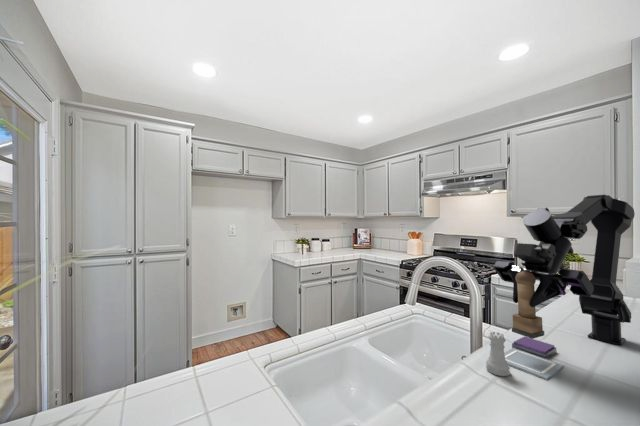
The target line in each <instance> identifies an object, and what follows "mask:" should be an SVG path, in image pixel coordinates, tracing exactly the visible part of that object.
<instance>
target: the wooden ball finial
mask: <svg viewBox="0 0 640 426" xmlns="http://www.w3.org/2000/svg"><path fill="white" fill-rule="evenodd" d="M515 279H516V282H517V291H518V302H517V308H518V313H515V314H512V327H511V332H512V333H515V334H518V335H521V336H522V337H524V336H525V337H528V338H531V339H537V338H540V337H543V336H545V330H544V329H543V317H541V316H538V315H536V312H537V310H536V306H535V307H531V306H530V305H529V303H530V301H531V298H532V296H533V295H534V293H535V291H536V289H535V284H536V282H537V280H536V279H535V276H534V275H533V274H532V273H530V272H528V271H520V272H518V273H517V274H516V277H515Z"/></svg>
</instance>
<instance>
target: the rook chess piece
mask: <svg viewBox="0 0 640 426" xmlns="http://www.w3.org/2000/svg"><path fill="white" fill-rule="evenodd" d="M504 336H505V335H504V334H503V333H500V332H495V331H492V332H489V335H488V337H487V338H488V339H489V340H490V342H489V346H490V351H489V356H488V357H487V358H488V359H486V360H485V363H486V365H485V368H486V370H487V371H488V372H489V373H490V374H492V375H495V376H497V377H507V376H509V375H510V374H511V371H510V368H511V366H509V365H508V364H507V361H506V360H505V355H504V353H505V348H506V346H505V345H504V344H505V342H506V341H507V340H506V338H505V337H504Z"/></svg>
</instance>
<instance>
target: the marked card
mask: <svg viewBox="0 0 640 426" xmlns="http://www.w3.org/2000/svg"><path fill="white" fill-rule="evenodd" d="M504 355H505V360H506V361H507V364H508V365H509V367H512V368H514V369H517V370H520V371H523V372H525V373H527V374H530V375H533V376H535V377H538V378H540V379H542V380H546V381H548V380H549V379H550V378H552V377H553V376H555V375H556V374H557V373H558V372H559V371H561V370H562V369H564V368H565V365H564V364H563V363H562V364H561V363H559V362H556V361H553V360H551V359H549V358H548V359H545V358H542V357H539V356H536V355H533V354H530V353H527V352H524V351H521V350H518V349H515V348H512V347H511V348H510V349H509V350H507V351H504Z"/></svg>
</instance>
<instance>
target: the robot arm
mask: <svg viewBox="0 0 640 426" xmlns="http://www.w3.org/2000/svg"><path fill="white" fill-rule="evenodd" d="M635 215H636V214H635V210H634V207H632V205H630V204H629V203H628V202H627V201H624V200H620V199H618V198H613V197H612V196H611V195H609V194H596V195H595V194H594V195H587V196H584V197H583V199H582V200H581V201H580V202H579V203H578V204H576V205H575V206H573V207H572V208H571V209H569V210H568V211H566V212H563V213H559V214H554V215H552V214H551V212H550V210H549V208H548V207H538V208H537V209H536V210H534V211H531V212H529V213H527V214H526V215H524V216H523V218H522V223H523V225H524V226H525V228H526V229H527V231H528V232H529V234H530V236H531V238H532V239H533V240H535V241H537V242H539V243H538V244H534V243H521V242H520V243H517V244H516V247H515V250H514V254H513V256H514V257H515V258H518V259H519V260H521V261H520V264H521V266H520V265H519V266H518V265H517V266H516V265H515V264H514V262H512V261H503V260H496V261H495V263H494V264H493V266H492V268H493V269H494V270H495V272H496V273H497V275H498V276H499V277H500V279H501V280H502V281H504V282H507V283H512V284H513V290H512V291H513V293H512V301H513V303H514V304H518V291H517V282H516V279H515V277H516V274H517V273H518V272H520V271H528V272H530V273H532V274H533V275H534V276H535V279H536V281H539V284H538V285H537V288H536V289H535V293H534V295H533V296H532V298H531V301H530V303H529V305H530V306H531V307H535V308H536V307H537V306H540V305H541V304H543V303H544V302H547V301H549V300H551V299H554V298H556V297H558V296H565V295H567V292H566V289H567V288H568V287H569V286H570V287H569V291H570V292H571V293H572V294H573V295H574V296H575V295H576V296H579V297H578V301H579V306H580V310H581V313H582V314H584V315H590V317H591V319H590V320H591V332H590V333H589V334H587V338H590V339H594V340H597V341H602V342H605V343H609V344H613V345H617V346H622V345H623V344H624V343H626V341H627V338H625V337H622V323H629V324H630V323H631V322H632V312H631V310H630V308H629V307H628V305H627V303H626V301H625V300H624V294H623V292H622V291H621V289H620V287H618V285H617V277H618V276H617V275H618V266H619V259H620V257H619V255H620V249H621V238H622V234H624V233H625V232H626V231H627V230H628V229H629V228H630V227H631V225H632V220H634V218H635ZM589 222H591V224H592V225H593V227H594V228H595V230H596V231H597V235H596V242H595V249H594V250H595V251H594V258H593V266H592V275H591V278H590V279H589V277H588V275H587V274H586V273H585V271H584V270H578V269H570V268H566V266H565V265H564V264H563V262H564V260H565V259H566V257H567V255H569V254H570V255H573V254H574V248H573V247H572V246H573V244H572V242H571V241H570V239H571V240H572V239H573V240H580V239H582V238H583V236H585V234H586V233H587V232H588V225H587V224H588V223H589ZM522 266H523V267H525V268H523V267H522Z"/></svg>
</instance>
